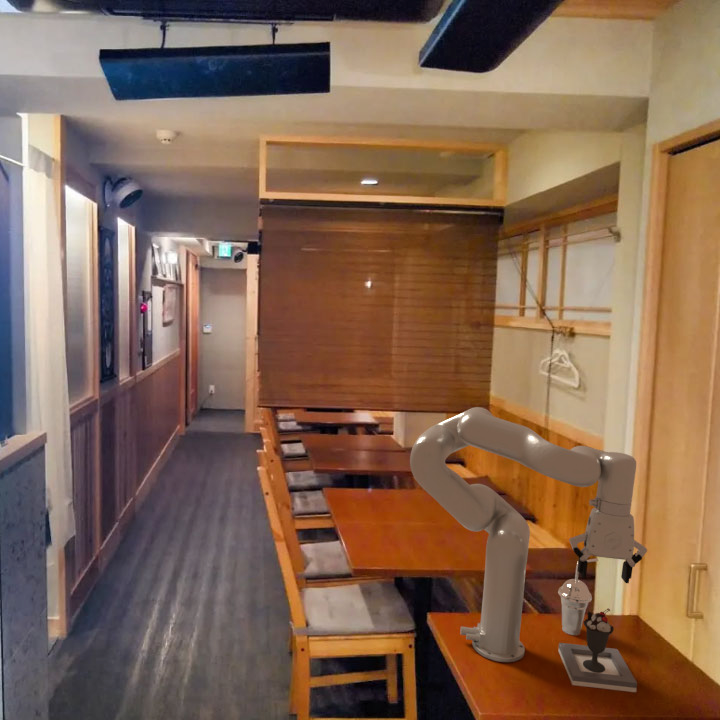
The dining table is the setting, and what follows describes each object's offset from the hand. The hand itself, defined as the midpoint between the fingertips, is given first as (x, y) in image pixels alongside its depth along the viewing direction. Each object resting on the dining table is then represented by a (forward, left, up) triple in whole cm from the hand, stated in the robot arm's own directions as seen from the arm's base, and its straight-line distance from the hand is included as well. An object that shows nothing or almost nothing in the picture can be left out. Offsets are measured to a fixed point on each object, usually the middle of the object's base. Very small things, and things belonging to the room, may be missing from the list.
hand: (603, 578), depth 147 cm
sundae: (0, 0, -22) cm, 22 cm away
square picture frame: (0, 0, -23) cm, 23 cm away
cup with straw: (-1, +18, -23) cm, 29 cm away
